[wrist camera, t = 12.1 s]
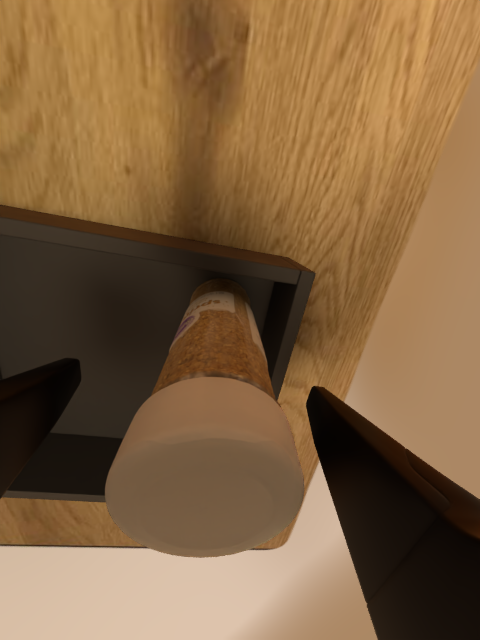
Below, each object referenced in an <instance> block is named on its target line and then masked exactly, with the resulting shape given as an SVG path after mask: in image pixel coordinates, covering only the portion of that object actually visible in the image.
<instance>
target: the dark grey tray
mask: <svg viewBox="0 0 480 640" xmlns="http://www.w3.org/2000/svg"><path fill="white" fill-rule="evenodd" d="M315 274H316V273H315V272H313V271H311V270H310V269H308V268H306V267H304V266H302V265H301V264H299V263H297V262H295V261H293V260H292V259H290V258H288V257H282V256H277V255H271V254H266V253H260V252H255V251H249V250H244V249H238V248H233V247H228V246H222V245H217V244H211V243H206V242H200V241H195V240H189V239H184V238H178V237H173V236H167V235H162V234H157V233H151V232H146V231H140V230H135V229H129V228H124V227H118V226H113V225H107V224H102V223H96V222H91V221H85V220H80V219H75V218H69V217H64V216H58V215H53V214H47V213H42V212H36V211H31V210H25V209H20V208H14V207H9V206H3V205H0V380H3V379H6V378H8V377H11V376H14V375H17V374H20V373H23V372H26V371H29V370H31V369H34V368H37V367H40V366H43V365H46V364H49V363H52V362H54V361H57V360H60V359H63V358H76V359H78V360H79V361H80V366H81V382H80V385H79V386H78V388H77V390H76V391H75V393H74V395H73V396H72V398H71V400H70V402H69V403H68V405H67V407H66V408H65V410H64V412H63V413H62V415H61V417H60V418H59V420H58V421H57V423H56V424H55V426H54V427H53V428H52V430H51V431H50V433H49V434H48V435H47V437H46V438H45V439H44V441H43V442H42V443H41V445H40V446H39V447H38V449H37V450H36V451H35V453H34V454H33V455H32V457H31V458H30V460H29V461H28V462H27V464H26V465H25V466H24V468H23V469H22V470H21V472H20V473H19V474H18V476H17V477H16V478H15V480H14V481H13V483H12V484H11V485H10V487H9V488H8V489H7V491H6V492H5V493H4V495H3V496H2V497H8V498H28V499H48V500H68V501H88V502H106V500H105V485H106V480H107V477H108V473H109V470H110V468H111V466H112V463H113V461H114V459H115V457H116V454H117V452H118V450H119V447H120V445H121V443H122V441H123V439H124V437H125V435H126V432H127V430H128V428H129V426H130V424H131V422H132V420H133V418H134V416H135V414H136V413H137V411H138V410H139V408H140V407H141V406H142V405H143V403H144V402H145V401H146V400H147V399H148V398H150V397H151V395H152V392H153V390H154V388H155V385H156V383H157V381H158V379H159V376H160V374H161V371H162V369H163V366H164V364H165V362H166V359H167V357H168V355H169V349H170V347H171V345H172V342H173V340H174V338H175V335H176V333H177V331H178V328H179V326H180V324H181V322H182V319H183V317H184V315H185V312H186V310H187V309H188V307H189V305H190V300H191V297H192V294H193V292H194V291H195V290H196V288H197V287H199V286H200V285H201V284H203V283H204V282H206V281H208V280H211V279H216V278H222V279H229V280H232V281H234V282H236V283H238V284H239V285H240V286H241V287H242V288H243V289H244V290H245V291H246V293H247V295H248V297H249V299H250V306H251V310H252V312H253V315H254V318H255V322H256V325H257V329H258V332H259V335H260V339H261V342H262V345H263V349H264V352H265V356H266V360H267V366H268V372H269V377H270V380H271V386H272V388H273V393H274V396H275V399H276V401H277V400H278V397H279V394H280V390H281V387H282V384H283V380H284V377H285V374H286V370H287V367H288V364H289V360H290V357H291V354H292V351H293V347H294V344H295V341H296V337H297V334H298V331H299V327H300V324H301V321H302V317H303V314H304V311H305V308H306V304H307V301H308V298H309V294H310V291H311V288H312V284H313V281H314V278H315Z"/></svg>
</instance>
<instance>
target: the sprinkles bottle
mask: <svg viewBox="0 0 480 640" xmlns="http://www.w3.org/2000/svg"><path fill="white" fill-rule="evenodd" d="M303 495H304V478H303V473H302V469H301V465H300V462H299V458H298V454H297V451H296V447H295V443H294V439H293V436H292V433H291V429H290V426H289V423H288V420H287V418H286V416H285V414H284V412H283V410H282V409H281V406H280V404H279V403H278V402H277V401H276V399H275V396H274V393H273V388H272V386H271V380H270V377H269V372H268V366H267V360H266V356H265V352H264V349H263V345H262V342H261V339H260V335H259V332H258V329H257V325H256V322H255V318H254V315H253V312H252V310H251V306H250V299H249V297H248V295H247V293H246V291H245V290H244V289H243V288H242V287H241V286H240V285H239V284H238V283H236V282H234V281H232V280H229V279H222V278H216V279H211V280H208V281H206V282H204V283H203V284H201V285H200V286H199V287H197V288H196V290H195V291H194V292H193V294H192V297H191V300H190V305H189V307H188V309H187V310H186V312H185V315H184V317H183V319H182V322H181V324H180V326H179V328H178V331H177V333H176V335H175V338H174V340H173V342H172V345H171V347H170V349H169V355H168V357H167V359H166V362H165V364H164V366H163V369H162V371H161V374H160V376H159V379H158V381H157V383H156V385H155V388H154V390H153V392H152V395H151V397H150V398H148V399H147V400H146V401H145V402H144V403H143V405H142V406H141V407H140V408H139V410H138V411H137V413H136V414H135V416H134V418H133V420H132V422H131V424H130V426H129V428H128V430H127V432H126V435H125V437H124V439H123V441H122V443H121V445H120V447H119V450H118V452H117V454H116V457H115V459H114V461H113V463H112V466H111V468H110V470H109V473H108V477H107V480H106V485H105V500H106V504H107V509H108V512H109V514H110V516H111V518H112V519H113V521H114V522H115V524H116V525H117V526H118V527H119V528H120V529H121V530H122V531H123V532H124V533H125V534H126V535H127V536H128V537H130V538H131V539H133V540H134V541H136V542H137V543H139V544H141V545H144V546H146V547H148V548H151V549H153V550H156V551H159V552H163V553H167V554H171V555H177V556H184V557H200V558H201V557H218V556H225V555H231V554H235V553H239V552H242V551H246V550H249V549H252V548H254V547H257V546H259V545H261V544H263V543H266V542H267V541H269V540H270V539H272V538H274V537H275V536H276V535H278V534H279V533H280V532H282V531H283V530H284V529H285V528H286V527H287V526H288V525H289V524H290V523H291V522H292V520H293V519H294V518H295V516H296V514H297V512H298V511H299V508H300V506H301V503H302V500H303Z"/></svg>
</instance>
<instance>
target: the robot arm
mask: <svg viewBox="0 0 480 640" xmlns="http://www.w3.org/2000/svg"><path fill="white" fill-rule="evenodd" d="M80 382H81V366H80V361H79V360H78V359H76V358H63V359H60V360H57V361H54V362H52V363H49V364H46V365H43V366H40V367H37V368H34V369H31V370H29V371H26V372H23V373H20V374H17V375H14V376H11V377H8V378H6V379H3V380H0V499H1V497H2V496H3V495H4V493H5V492H6V491H7V489H8V488H9V487H10V485H11V484H12V483H13V481H14V480H15V478H16V477H17V476H18V474H19V473H20V472H21V470H22V469H23V468H24V466H25V465H26V464H27V462H28V461H29V460H30V458H31V457H32V455H33V454H34V453H35V451H36V450H37V449H38V447H39V446H40V445H41V443H42V442H43V441H44V439H45V438H46V437H47V435H48V434H49V433H50V431H51V430H52V428H53V427H54V426H55V424H56V423H57V421H58V420H59V418H60V417H61V415H62V413H63V412H64V410H65V408H66V407H67V405H68V403H69V402H70V400H71V398H72V396H73V395H74V393H75V391H76V390H77V388H78V386H79V385H80ZM306 407H307V412H308V417H309V422H310V426H311V431H312V436H313V440H314V444H315V447H316V450H317V453H318V457H319V460H320V463H321V466H322V469H323V472H324V475H325V478H326V481H327V484H328V487H329V490H330V493H331V496H332V499H333V503H334V506H335V508H336V512H337V515H338V518H339V521H340V524H341V527H342V530H343V533H344V536H345V539H346V543H347V546H348V549H349V552H350V555H351V558H352V561H353V564H354V567H355V570H356V573H357V576H358V579H359V582H360V585H361V589H362V592H363V594H364V598H365V601H366V603H368V604H367V608H368V611H369V614H370V617H371V620H372V623H373V626H374V629H375V632H376V635H377V638H378V640H480V499H478V498H477V497H475V496H474V495H472V494H471V493H469V492H468V491H466V490H465V489H463V488H462V487H460V486H459V485H457V484H456V483H454V482H453V481H451V480H450V479H449V478H447V477H446V476H444V475H443V474H441V473H440V472H438V471H437V470H435V469H434V468H433V467H431V466H430V465H428V464H427V463H426V462H424V461H423V460H422V459H420V458H419V457H417V456H416V455H415V454H413V453H412V452H411V451H409V450H408V449H405V447H404V446H402V445H401V444H400V443H398V442H397V441H396V440H394V439H393V438H391V437H390V436H389V435H387V434H386V433H385V432H383V431H382V430H381V429H379V428H378V427H377V426H375V425H374V424H373V423H371V422H370V421H368V420H367V419H366V418H364V417H363V416H362V415H360V414H359V413H358V412H356V411H355V410H354V409H352V408H351V407H349V406H348V405H347V404H345V403H344V402H343V401H341V400H340V399H339V398H337V397H336V396H335V395H333V394H332V393H331V392H329V391H328V390H326V389H325V388H324V387H319V386H313V387H312V388H311V391H310V394H309V396H308V399H307V403H306Z"/></svg>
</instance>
